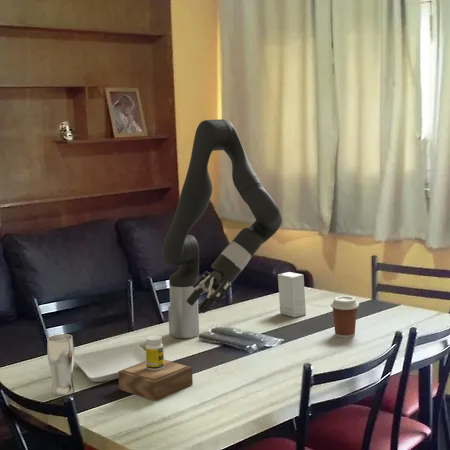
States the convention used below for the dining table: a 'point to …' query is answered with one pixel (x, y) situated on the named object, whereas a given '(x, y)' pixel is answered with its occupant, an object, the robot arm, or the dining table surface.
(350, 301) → the coffee cup
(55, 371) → the beer glass
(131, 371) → the pedestal
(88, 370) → the salad plate
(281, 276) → the skincare box
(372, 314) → the dining table surface
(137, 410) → the dining table surface
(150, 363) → the supplement bottle
